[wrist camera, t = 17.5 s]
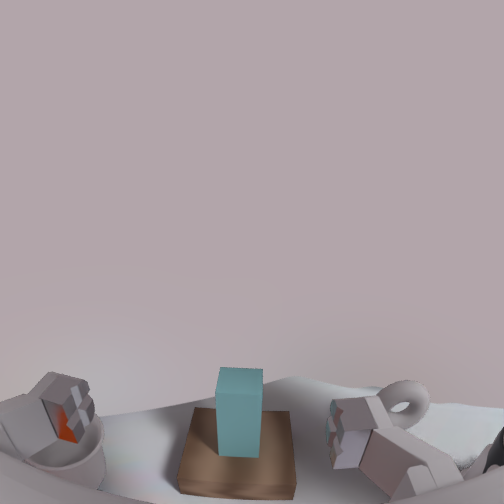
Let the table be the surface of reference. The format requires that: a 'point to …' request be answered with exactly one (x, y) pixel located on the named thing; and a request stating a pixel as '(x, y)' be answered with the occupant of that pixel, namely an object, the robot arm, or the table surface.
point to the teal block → (239, 411)
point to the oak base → (238, 461)
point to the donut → (405, 393)
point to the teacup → (75, 457)
